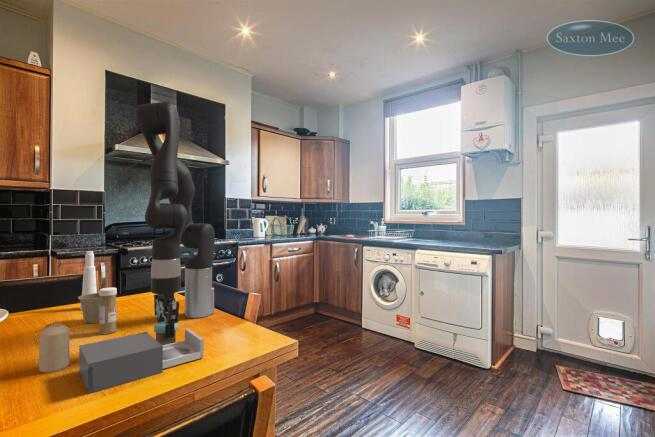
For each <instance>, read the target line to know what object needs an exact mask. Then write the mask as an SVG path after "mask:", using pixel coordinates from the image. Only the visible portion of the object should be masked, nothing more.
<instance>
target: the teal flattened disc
mask: <svg viewBox="0 0 655 437" xmlns="http://www.w3.org/2000/svg"><path fill="white" fill-rule="evenodd" d="M178 329H179V322H178V323H175V325H174V331H176V332H177V330H178ZM153 333H155V334H156V333H165V321H163V322H159V323H158V322H156V323H154V325H153Z"/></svg>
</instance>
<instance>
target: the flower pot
mask: <svg viewBox="0 0 655 437" xmlns="http://www.w3.org/2000/svg"><path fill="white" fill-rule="evenodd" d="M77 299H78V300H79V303H80V305H81V306H82V310H81V311H82V316H83V322H84V323H85V324H96V323H100V322H99V311H100V309H99V306H100V296H99V292H97V293H92V294H86V295H82V294H81V295H80V296H77Z"/></svg>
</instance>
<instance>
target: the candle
mask: <svg viewBox="0 0 655 437" xmlns="http://www.w3.org/2000/svg"><path fill="white" fill-rule="evenodd" d="M38 337H39V338H38V340H39V341H38V344H39V345H38V347H39V348H38V356H39V357H38V370H39V372H40V373H44V374H45V373H53V372H58V371H61V370H64V369H66V368H68V367H69V365H70V328H69V327H68V326H66V325H65V324H62V323H60V322H58V323H54V324H52V325H51V326H47V327H45V328H44V329H43V330H41V331H40V333H39V334H38Z"/></svg>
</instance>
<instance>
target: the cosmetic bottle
mask: <svg viewBox="0 0 655 437" xmlns="http://www.w3.org/2000/svg"><path fill="white" fill-rule="evenodd" d="M84 256H85V258H84V260H85V262H84V265H85V266H83V275H82V276H83V277H82V289H81V290H82V291H81V296H82V295H86V294H92V293H98V292H97V291H98V290H97V288H98V287H97V273H96V272H97V271H96V266H95V254H94V251H93V250H90V251H89V250H87V251H86V252H85V254H84ZM79 310H81V311H82V306H81V304H80V306H79Z"/></svg>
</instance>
